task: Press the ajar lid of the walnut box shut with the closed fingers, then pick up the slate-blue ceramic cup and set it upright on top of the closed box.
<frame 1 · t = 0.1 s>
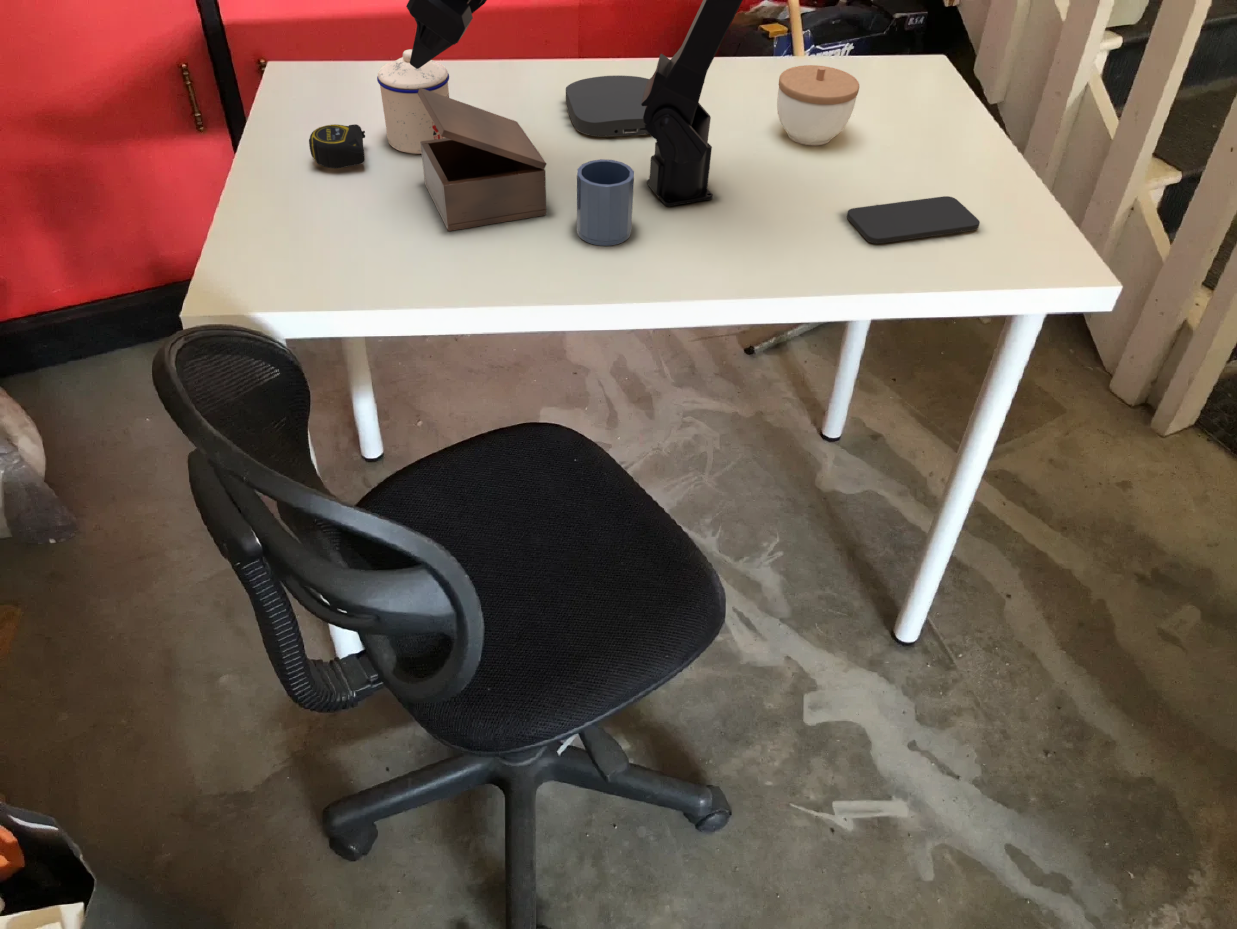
hand: (425, 51, 110), 15 cm above the table, tool tilted 30°, fingers open, 9 cm apart
trinket box: (809, 137, 131), on the table
box: (484, 200, 115), on the table
box lid: (481, 128, 109), point 9 cm above the table, hinge at 26.0°
phone: (911, 223, 114), on the table
tape measure: (346, 161, 121), on the table
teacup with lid: (422, 136, 127), on the table
media streaming box: (619, 116, 134), on the table
cup: (604, 231, 111), on the table
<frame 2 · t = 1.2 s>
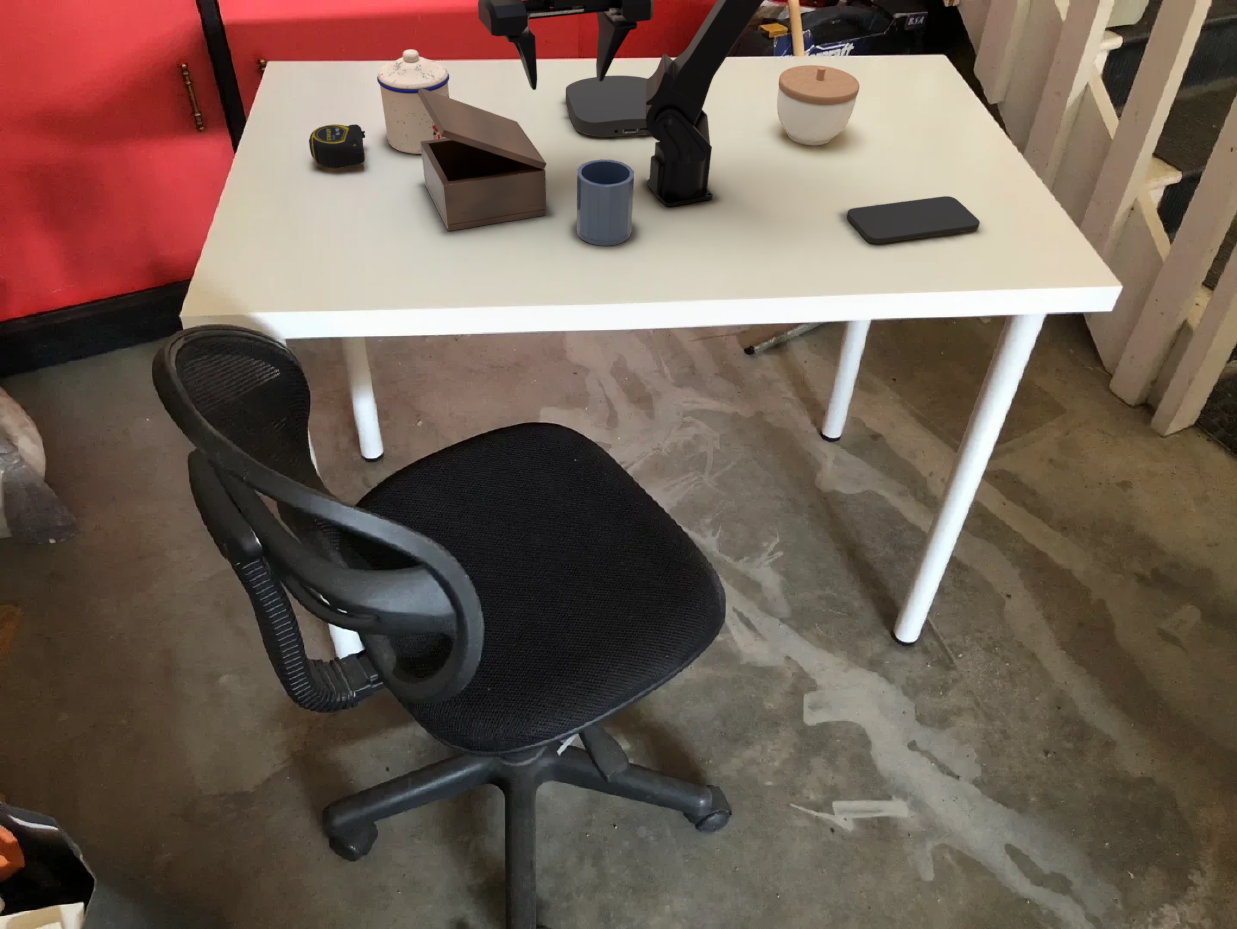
hand: (566, 84, 109), 13 cm above the table, tool pointing down, fingers open, 8 cm apart
nothing on the table moved.
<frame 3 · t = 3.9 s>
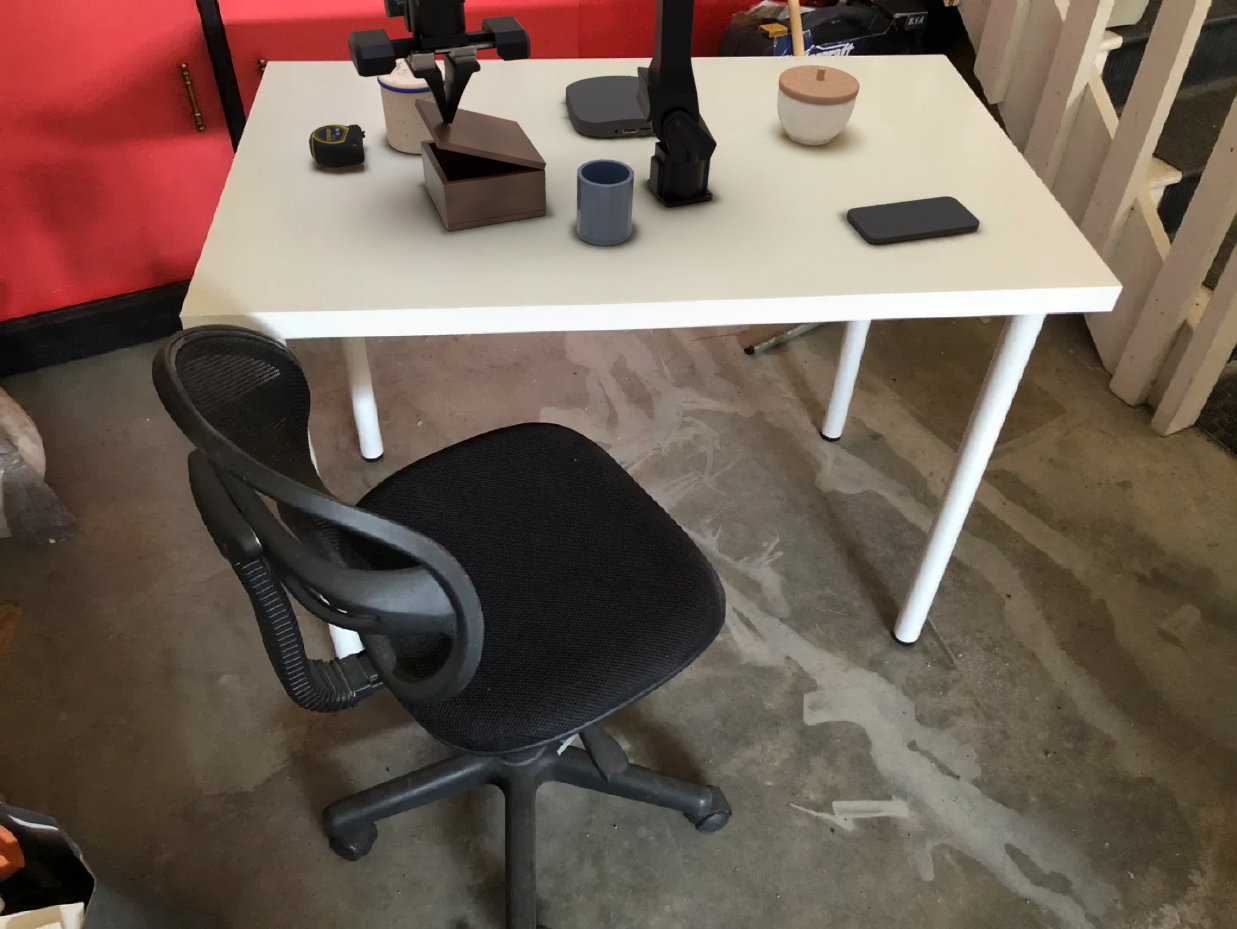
hand: (447, 122, 107), 10 cm above the table, tool pointing down, fingers closed
box lid: (480, 133, 109), point 8 cm above the table, hinge at 19.9°, touching gripper
everything else where it was.
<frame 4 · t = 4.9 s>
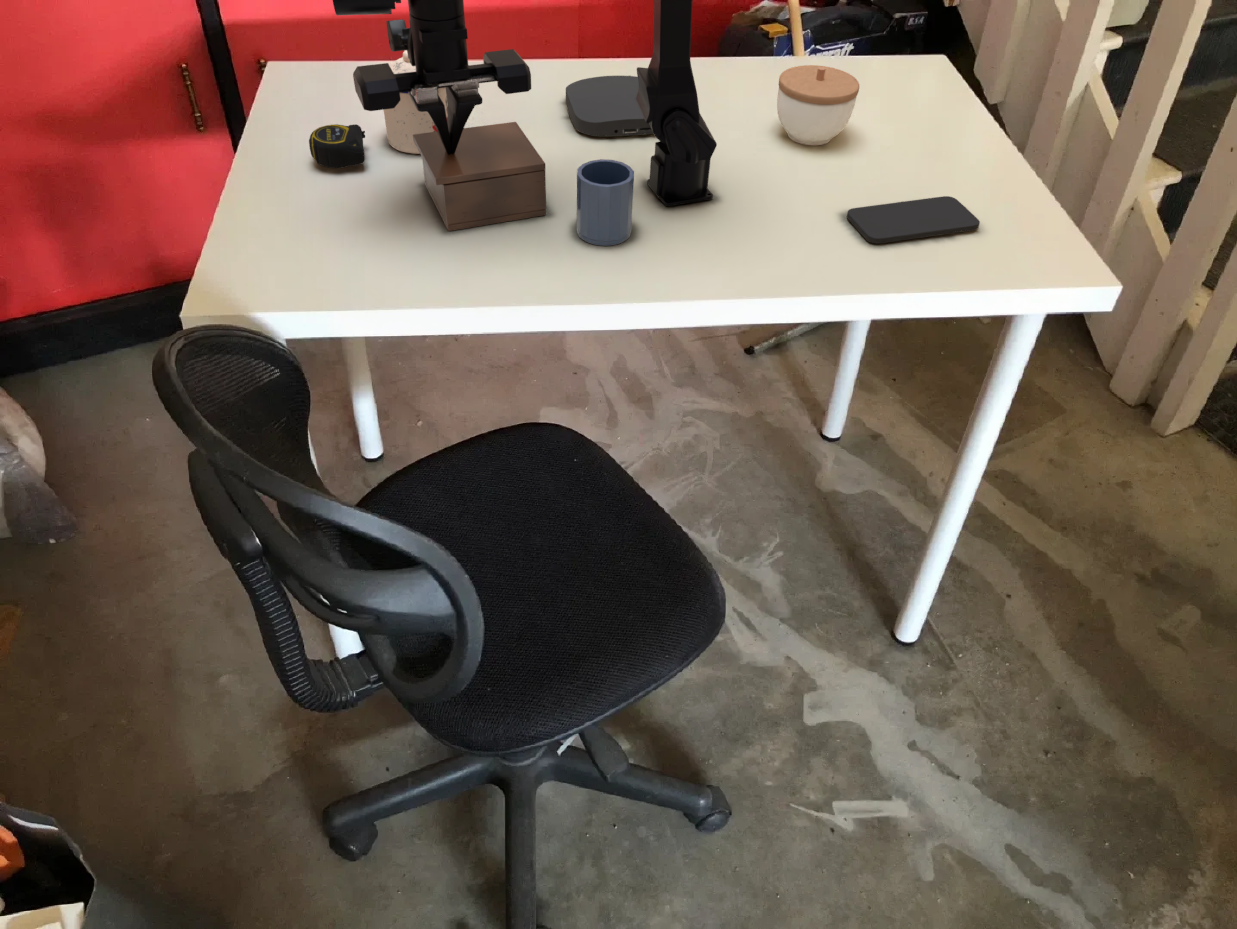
hand: (450, 152, 109), 7 cm above the table, tool pointing down, fingers closed, pressing on box lid
box lid: (478, 151, 110), point 6 cm above the table, hinge at 0.6°, touching gripper
everything else where it was.
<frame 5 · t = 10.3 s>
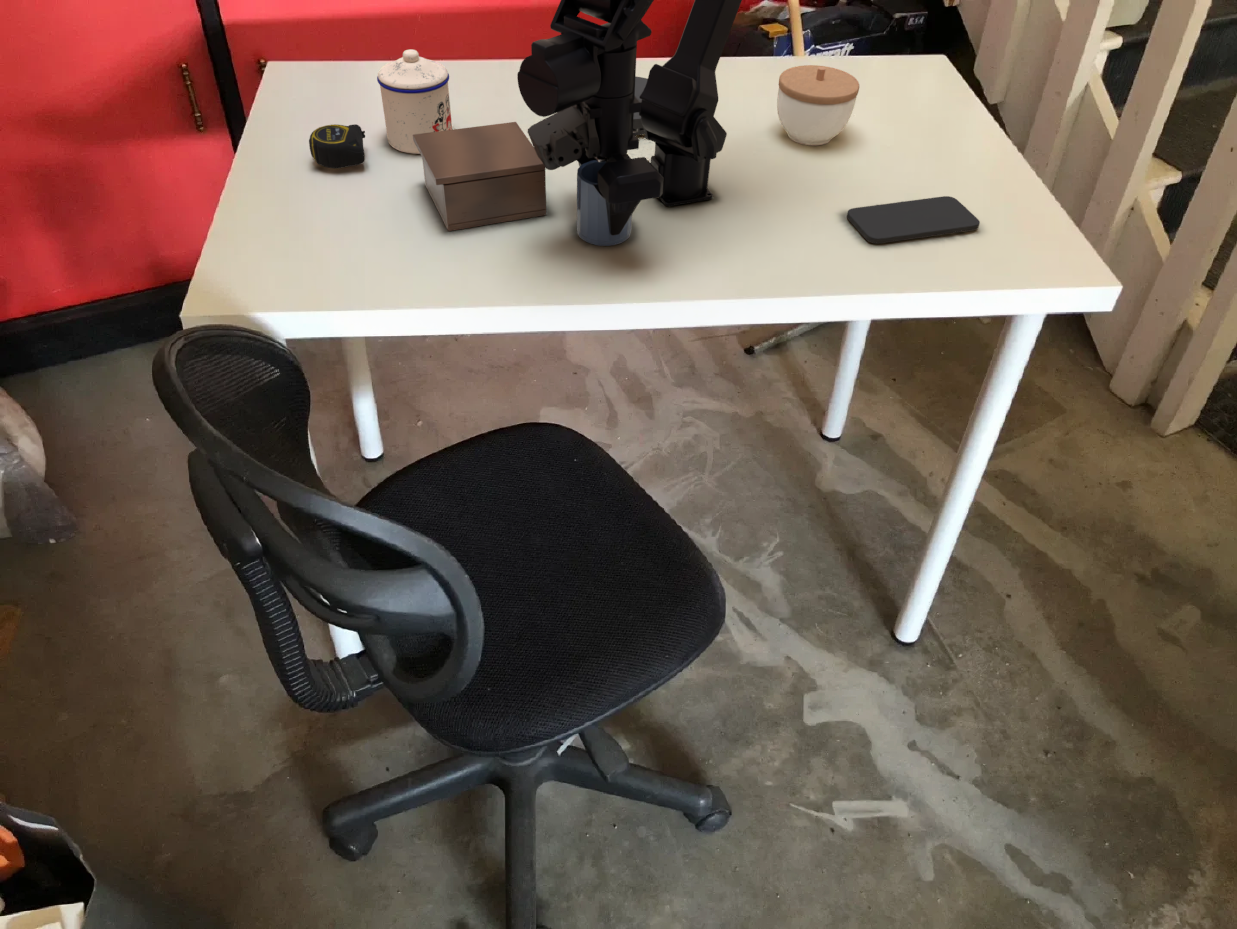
hand: (604, 219, 110), 2 cm above the table, tool pointing down, fingers closed on cup, 6 cm apart
box lid: (478, 151, 110), point 6 cm above the table, hinge at 0.5°
cup: (604, 231, 111), on the table, touching gripper
everything else where it was.
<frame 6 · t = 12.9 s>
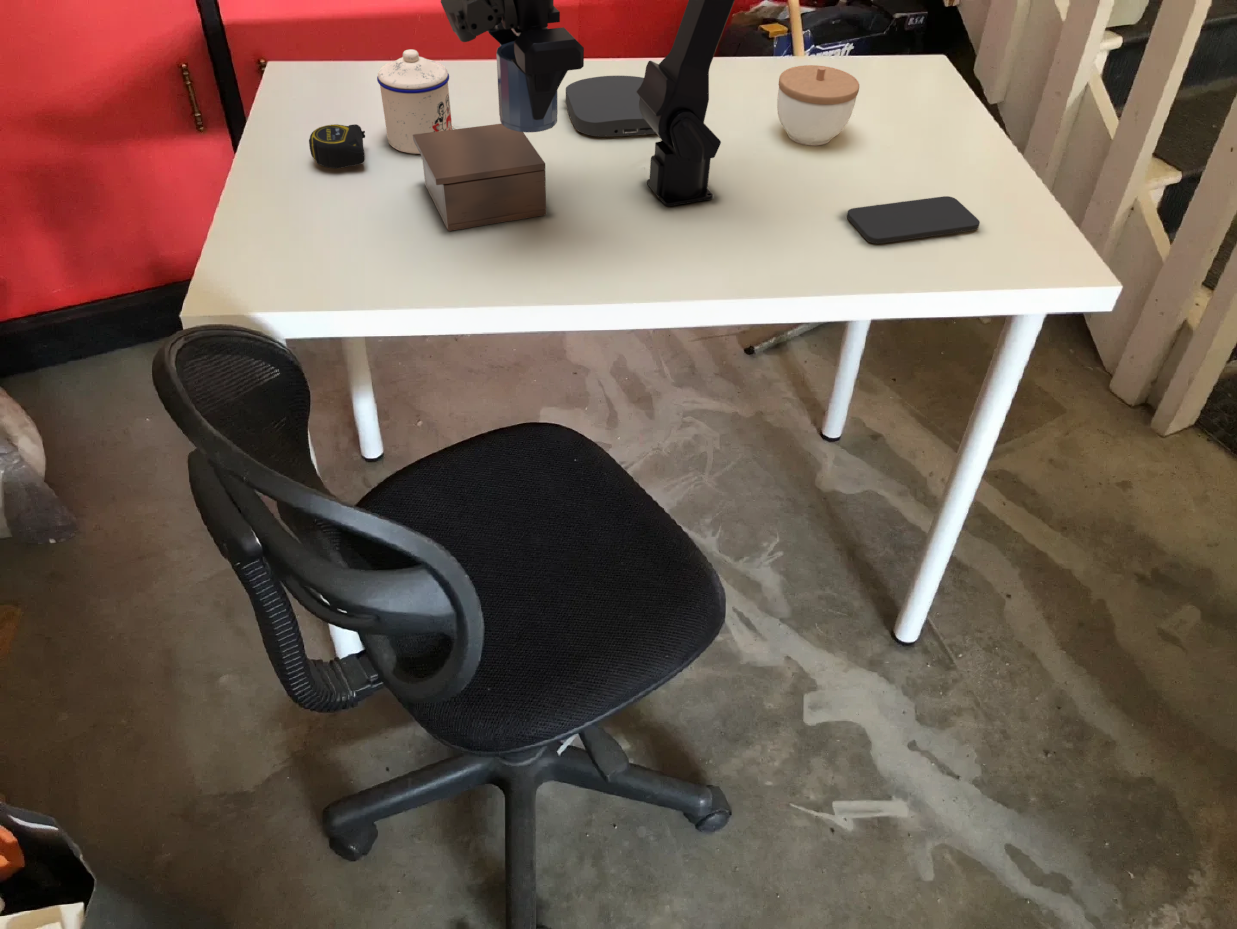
hand: (528, 106, 104), 13 cm above the table, tool pointing down, fingers closed on cup, 6 cm apart
cup: (528, 119, 105), point 12 cm above the table, touching gripper
everything else where it was.
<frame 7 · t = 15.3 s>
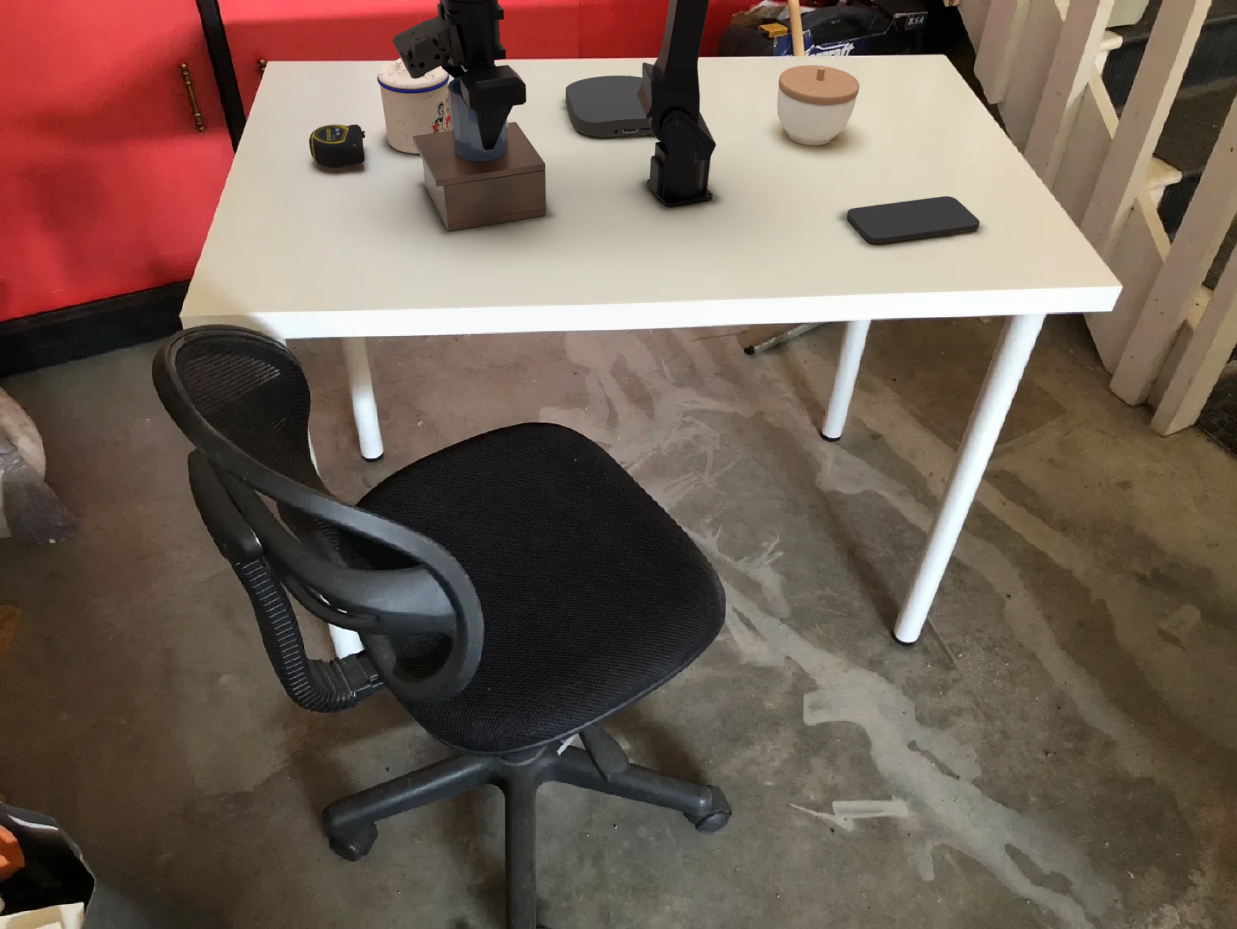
hand: (480, 136, 109), 8 cm above the table, tool pointing down, fingers closed on cup, 6 cm apart
box lid: (478, 152, 110), point 6 cm above the table, hinge at -0.2°, touching box, cup
cup: (481, 148, 110), point 7 cm above the table, touching box lid, gripper
everything else where it was.
when the fingers open (8 cm above the table, at t = 15.4 s): cup stays where it is, resting on box lid.
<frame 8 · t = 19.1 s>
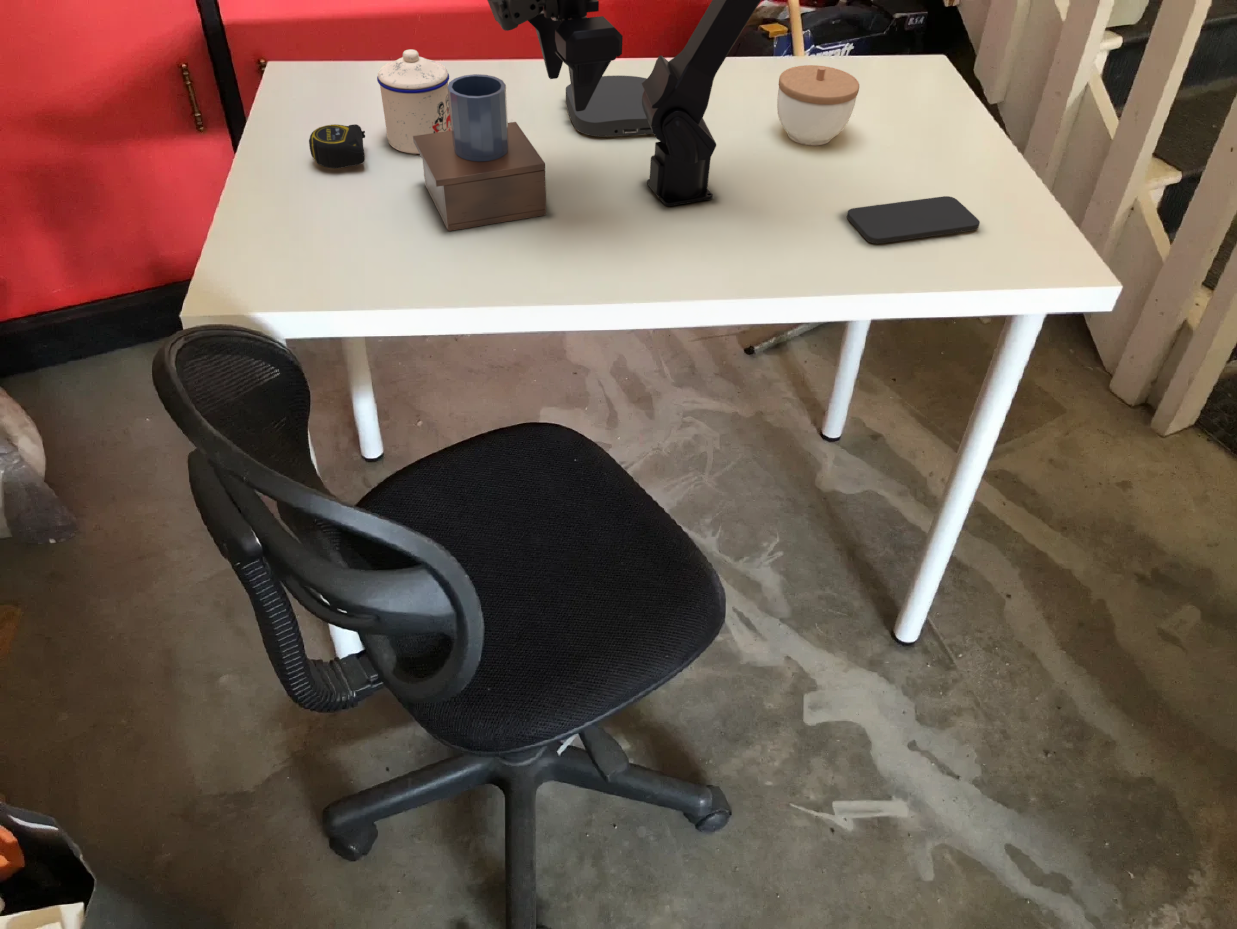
hand: (566, 93, 107), 13 cm above the table, tool pointing down, fingers open, 9 cm apart
cup: (481, 148, 110), point 7 cm above the table, touching box lid
everything else where it was.
at the end: box lid at +0° (first picture: +26°); cup inside the target area on the box (0.1 cm from its centre), point 6.6 cm above the box's base; cup tilted 0° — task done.
